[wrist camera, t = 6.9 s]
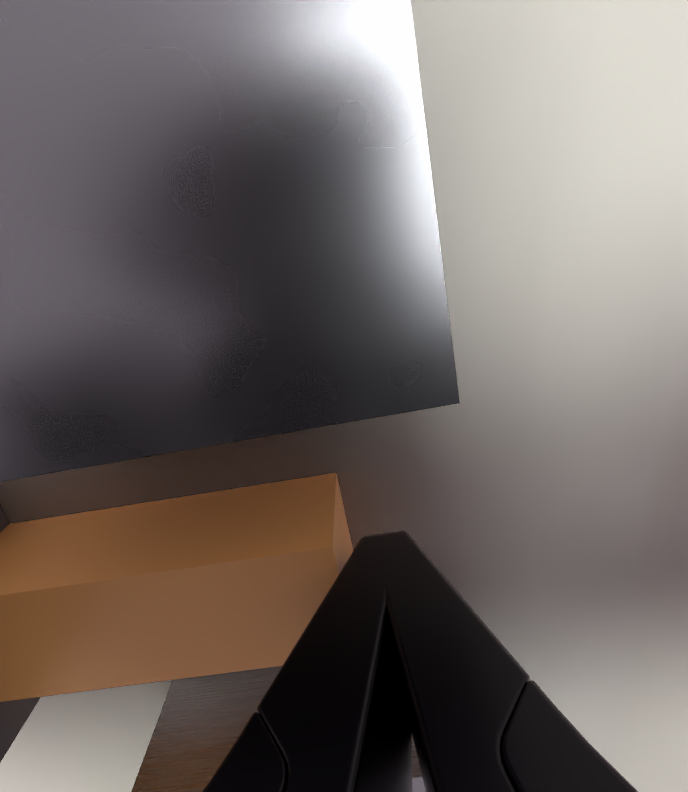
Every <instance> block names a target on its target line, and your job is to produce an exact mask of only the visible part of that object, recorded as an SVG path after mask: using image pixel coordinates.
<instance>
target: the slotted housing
mask: <svg viewBox="0 0 688 792" xmlns="http://www.w3.org/2000/svg"><path fill="white" fill-rule="evenodd" d="M457 403H459V395H458V386H457V378H456V370H455V362H454V353H453V345H452V337H451V329H450V321H449V312H448V304H447V296H446V288H445V279H444V271H443V263H442V255H441V246H440V238H439V230H438V222H437V213H436V205H435V197H434V189H433V181H432V172H431V164H430V156H429V148H428V139H427V131H426V123H425V115H424V106H423V98H422V90H421V82H420V73H419V65H418V57H417V49H416V41H415V32H414V24H413V16H412V8H411V0H0V482H2V481H8V480H13V479H19V478H25V477H31V476H37V475H43V474H48V473H54V472H60V471H66V470H72V469H78V468H84V467H89V466H95V465H101V464H107V463H113V462H119V461H124V460H130V459H136V458H142V457H148V456H154V455H159V454H165V453H171V452H177V451H183V450H189V449H194V448H200V447H206V446H212V445H218V444H224V443H230V442H235V441H241V440H247V439H253V438H259V437H265V436H270V435H276V434H282V433H288V432H294V431H300V430H305V429H311V428H317V427H323V426H329V425H335V424H341V423H346V422H352V421H358V420H364V419H370V418H376V417H381V416H387V415H393V414H399V413H405V412H411V411H416V410H422V409H428V408H434V407H440V406H446V405H451V404H457ZM281 667H282V666H276V667H269V668H261V669H253V670H245V671H237V672H230V673H222V674H214V675H206V676H198V677H191V678H183V679H175V680H173V681H172V683H171V686H170V689H169V692H168V694H167V697H166V700H165V702H164V705H163V708H162V710H161V713H160V716H159V719H158V721H157V724H156V727H155V729H154V732H153V735H152V738H151V740H150V743H149V746H148V748H147V751H146V754H145V757H144V759H143V762H142V765H141V767H140V770H139V773H138V776H137V778H136V781H135V784H134V786H133V789H132V792H202V791H203V789H204V788H205V786H206V785H207V784H208V782H209V781H210V779H211V778H212V776H213V775H214V773H215V772H216V770H217V769H218V767H219V766H220V764H221V763H222V761H223V760H224V758H225V756H226V755H227V753H228V752H229V750H230V749H231V747H232V746H233V744H234V743H235V741H236V740H237V738H238V736H239V735H240V733H241V732H242V730H243V728H244V727H245V725H246V724H247V722H248V720H249V719H250V717H251V715H252V714H253V713H254V712H257V706H258V705H259V703H260V701H261V700H262V698H263V696H264V695H265V693H266V692H267V690H268V688H269V687H270V685H271V684H272V682H273V680H274V679H275V677H276V675H277V674H278V672H279V671H280V669H281ZM412 792H426V791H425V787H424V782H423V778H422V774H421V770H420V766H419V761H418V757H417V753H416V749H415V744H414V740H413V736H412Z"/></svg>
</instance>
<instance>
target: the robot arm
mask: <svg viewBox="0 0 688 792" xmlns="http://www.w3.org/2000/svg"><path fill="white" fill-rule="evenodd" d="M412 736H413V740H414V744H415V749H416V753H417V757H418V761H419V766H420V770H421V774H422V778H423V782H424V787H425V791H426V792H638V791H637V790H636V789H635V788H634V787H633V786H632V785H631V784H630V783H629V782H628V781H627V780H626V779H625V778H624V777H623V776H622V775H621V774H620V773H619V772H618V771H617V770H616V769H615V768H614V767H613V766H612V765H611V764H610V763H609V762H608V761H607V760H606V759H605V758H604V757H602V756H601V755H600V754H599V753H598V752H597V751H596V750H595V749H594V748H593V747H592V746H591V745H590V744H589V743H588V741H587V740H586V739H585V738H584V737H583V736H582V735H581V734H580V733H579V732H578V730H577V729H576V728H575V727H574V726H573V725H572V724H571V723H570V722H569V721H568V719H567V718H566V717H565V716H564V715H563V714H562V713H561V712H560V711H559V710H558V708H557V707H556V706H555V705H554V704H553V703H552V702H551V700H550V699H549V698H548V697H547V696H546V695H545V693H544V692H543V691H542V690H541V689H540V687H539V686H538V685H537V684H536V683H535V682H534V681H532V680H530V677H529V675H528V674H527V673H526V672H525V670H524V669H523V668H522V667H521V666H520V665H519V663H518V662H517V661H516V660H515V659H514V657H513V656H512V655H511V654H510V653H509V652H508V650H507V649H506V648H505V647H504V646H503V645H502V643H501V642H500V641H499V640H498V639H497V638H496V636H495V635H494V634H493V633H492V632H491V631H490V629H489V628H488V627H487V626H486V625H485V623H484V622H483V621H482V620H481V619H480V618H479V616H478V615H477V614H476V613H475V612H474V611H473V609H472V608H471V607H470V606H469V605H468V604H467V602H466V601H465V600H464V599H463V598H462V597H461V595H460V594H459V593H458V592H457V591H456V589H455V588H454V587H453V586H452V585H451V584H450V582H449V581H448V580H447V579H446V578H445V577H444V575H443V574H442V573H441V572H440V571H439V570H438V568H437V567H436V566H435V565H434V564H433V563H432V561H431V560H430V559H429V558H428V557H427V555H426V554H425V553H424V552H423V551H422V550H421V548H420V547H419V546H418V545H417V544H416V543H415V541H414V540H413V539H412V538H411V537H410V536H409V534H408V533H407V532H405V531H397V532H390V533H383V534H376V535H369V536H364V537H362V538H361V539H360V541H359V543H358V544H357V546H356V547H355V549H354V551H353V552H352V554H351V556H350V557H349V559H348V560H347V562H346V564H345V565H344V567H343V568H342V570H341V572H340V573H339V575H338V577H337V578H336V580H335V581H334V583H333V585H332V586H331V588H330V590H329V591H328V593H327V594H326V596H325V598H324V599H323V601H322V603H321V604H320V606H319V607H318V609H317V611H316V612H315V614H314V615H313V617H312V619H311V620H310V622H309V624H308V625H307V627H306V628H305V630H304V632H303V633H302V635H301V637H300V638H299V640H298V641H297V643H296V645H295V646H294V648H293V649H292V651H291V653H290V654H289V656H288V658H287V659H286V661H285V662H284V664H283V666H282V667H281V669H280V671H279V672H278V674H277V675H276V677H275V679H274V680H273V682H272V684H271V685H270V687H269V688H268V690H267V692H266V693H265V695H264V696H263V698H262V700H261V701H260V703H259V705H258V706H257V712H254V713H253V714H252V715H251V717H250V719H249V720H248V722H247V724H246V725H245V727H244V728H243V730H242V732H241V733H240V735H239V736H238V738H237V740H236V741H235V743H234V744H233V746H232V747H231V749H230V750H229V752H228V753H227V755H226V756H225V758H224V760H223V761H222V763H221V764H220V766H219V767H218V769H217V770H216V772H215V773H214V775H213V776H212V778H211V779H210V781H209V782H208V784H207V785H206V786H205V788H204V789H203V791H202V792H412Z"/></svg>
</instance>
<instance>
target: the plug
mask: <svg viewBox="0 0 688 792" xmlns="http://www.w3.org/2000/svg"><path fill="white" fill-rule="evenodd" d="M352 552H353V547H352V542H351V537H350V533H349V528H348V524H347V519H346V514H345V510H344V505H343V501H342V496H341V491H340V487H339V482H338V478H337V473H330V474H324V475H318V476H311V477H305V478H298V479H292V480H286V481H279V482H273V483H266V484H260V485H254V486H247V487H241V488H235V489H228V490H222V491H215V492H209V493H203V494H196V495H190V496H184V497H177V498H171V499H164V500H158V501H152V502H145V503H139V504H133V505H126V506H120V507H113V508H107V509H101V510H94V511H88V512H82V513H75V514H69V515H62V516H56V517H50V518H43V519H37V520H30V521H24V522H18V523H11V524H10V523H9V521H8V519H7V517H6V515H5V513H4V511H3V509H2V507H1V505H0V762H1V760H2V759H3V757H4V755H5V754H6V752H7V751H8V749H9V747H10V746H11V744H12V743H13V741H14V739H15V738H16V736H17V734H18V733H19V731H20V730H21V728H22V726H23V725H24V723H25V721H26V720H27V718H28V717H29V715H30V713H31V712H32V710H33V709H34V707H35V705H36V704H37V702H38V700H39V699H40V697H43V696H50V695H58V694H66V693H74V692H82V691H89V690H97V689H105V688H113V687H120V686H128V685H136V684H144V683H152V682H159V681H167V680H175V679H183V678H191V677H198V676H206V675H214V674H222V673H230V672H237V671H245V670H253V669H261V668H269V667H276V666H283V664H284V662H285V661H286V659H287V658H288V656H289V654H290V653H291V651H292V649H293V648H294V646H295V645H296V643H297V641H298V640H299V638H300V637H301V635H302V633H303V632H304V630H305V628H306V627H307V625H308V624H309V622H310V620H311V619H312V617H313V615H314V614H315V612H316V611H317V609H318V607H319V606H320V604H321V603H322V601H323V599H324V598H325V596H326V594H327V593H328V591H329V590H330V588H331V586H332V585H333V583H334V581H335V580H336V578H337V577H338V575H339V573H340V572H341V570H342V568H343V567H344V565H345V564H346V562H347V560H348V559H349V557H350V556H351V554H352Z"/></svg>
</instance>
